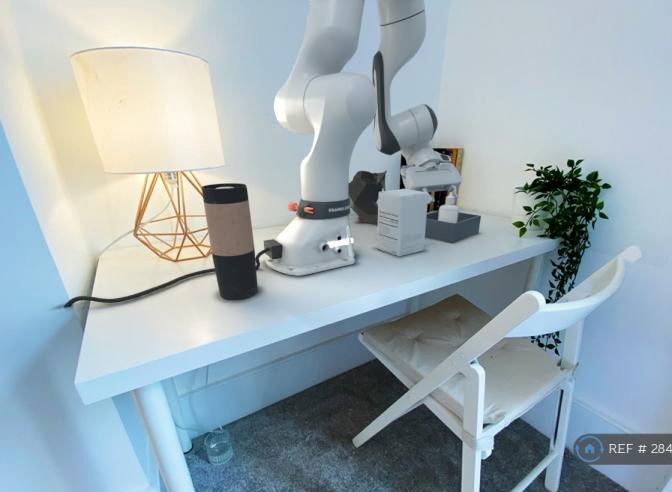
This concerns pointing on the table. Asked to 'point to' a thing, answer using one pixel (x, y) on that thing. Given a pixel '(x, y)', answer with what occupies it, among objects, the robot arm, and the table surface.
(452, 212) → the eye dropper bottle
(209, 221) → the travel mug
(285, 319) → the table surface
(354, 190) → the dark grey faceted sculpture
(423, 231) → the white product box
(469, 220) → the grey open rectangular box
